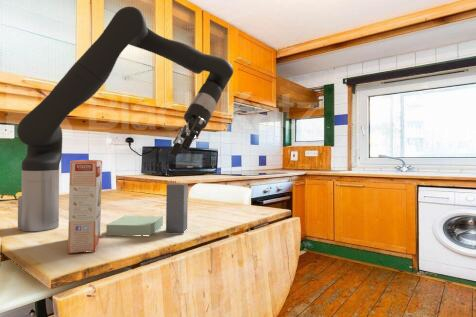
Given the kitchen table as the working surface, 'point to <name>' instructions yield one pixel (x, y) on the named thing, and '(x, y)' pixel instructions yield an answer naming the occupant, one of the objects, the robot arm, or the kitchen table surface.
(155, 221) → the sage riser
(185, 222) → the block
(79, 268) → the kitchen table surface
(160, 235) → the kitchen table surface
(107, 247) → the kitchen table surface
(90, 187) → the cracker box
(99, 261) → the kitchen table surface
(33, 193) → the robot arm
